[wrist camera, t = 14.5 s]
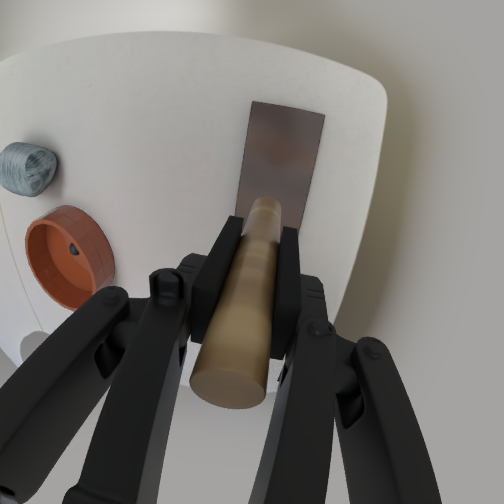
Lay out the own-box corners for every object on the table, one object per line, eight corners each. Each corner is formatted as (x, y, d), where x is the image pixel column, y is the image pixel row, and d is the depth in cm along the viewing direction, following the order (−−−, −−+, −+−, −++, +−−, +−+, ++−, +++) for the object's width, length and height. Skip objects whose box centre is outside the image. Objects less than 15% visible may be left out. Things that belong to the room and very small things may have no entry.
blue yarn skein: (55, 138, 28) (2, 181, 22) (70, 184, 36) (26, 224, 30) (26, 120, 29) (-17, 153, 24) (38, 159, 37) (1, 191, 32)
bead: (72, 236, 38) (71, 245, 39) (67, 247, 36) (67, 255, 38) (84, 240, 39) (83, 249, 40) (79, 251, 37) (79, 260, 39)
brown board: (253, 101, 27) (252, 101, 26) (323, 115, 27) (325, 115, 26) (234, 227, 35) (232, 231, 34) (295, 238, 35) (295, 244, 34)
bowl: (39, 200, 37) (17, 213, 32) (109, 212, 36) (86, 228, 31) (55, 279, 45) (38, 296, 40) (120, 302, 45) (105, 323, 40)
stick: (254, 193, 20) (188, 361, 6) (284, 199, 19) (273, 378, 6) (249, 220, 21) (189, 400, 7) (278, 226, 20) (258, 414, 7)
